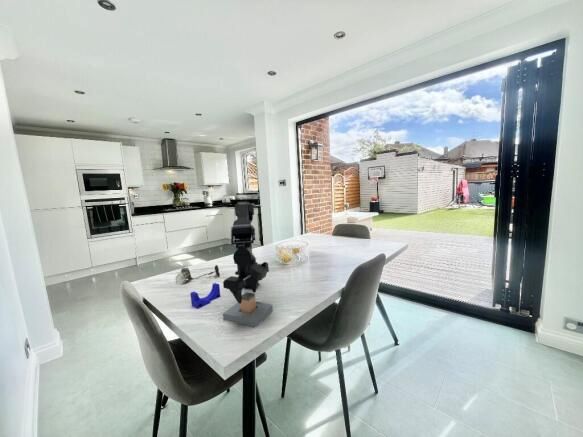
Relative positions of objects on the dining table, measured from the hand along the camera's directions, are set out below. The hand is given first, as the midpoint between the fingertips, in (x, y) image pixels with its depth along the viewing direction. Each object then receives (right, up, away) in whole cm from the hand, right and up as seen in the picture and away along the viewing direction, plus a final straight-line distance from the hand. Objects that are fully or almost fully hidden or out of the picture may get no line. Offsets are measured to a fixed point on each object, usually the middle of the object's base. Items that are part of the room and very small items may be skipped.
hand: (247, 297), depth 89 cm
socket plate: (0, -7, +1) cm, 7 cm away
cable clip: (-20, -7, +14) cm, 25 cm away
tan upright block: (0, -7, +1) cm, 7 cm away
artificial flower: (-34, -4, +40) cm, 53 cm away
